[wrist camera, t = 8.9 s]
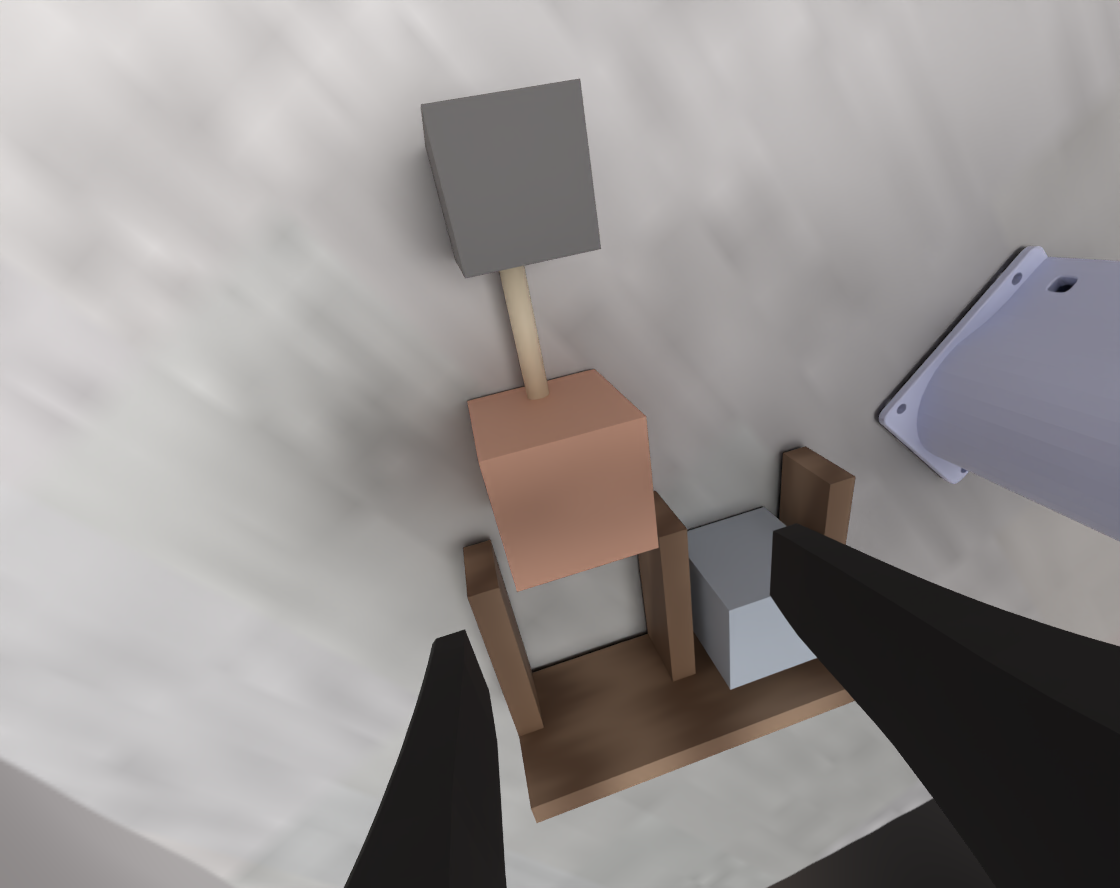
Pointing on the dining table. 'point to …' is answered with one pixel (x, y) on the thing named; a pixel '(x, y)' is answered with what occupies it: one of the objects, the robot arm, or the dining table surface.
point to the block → (740, 599)
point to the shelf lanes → (651, 668)
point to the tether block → (541, 406)
